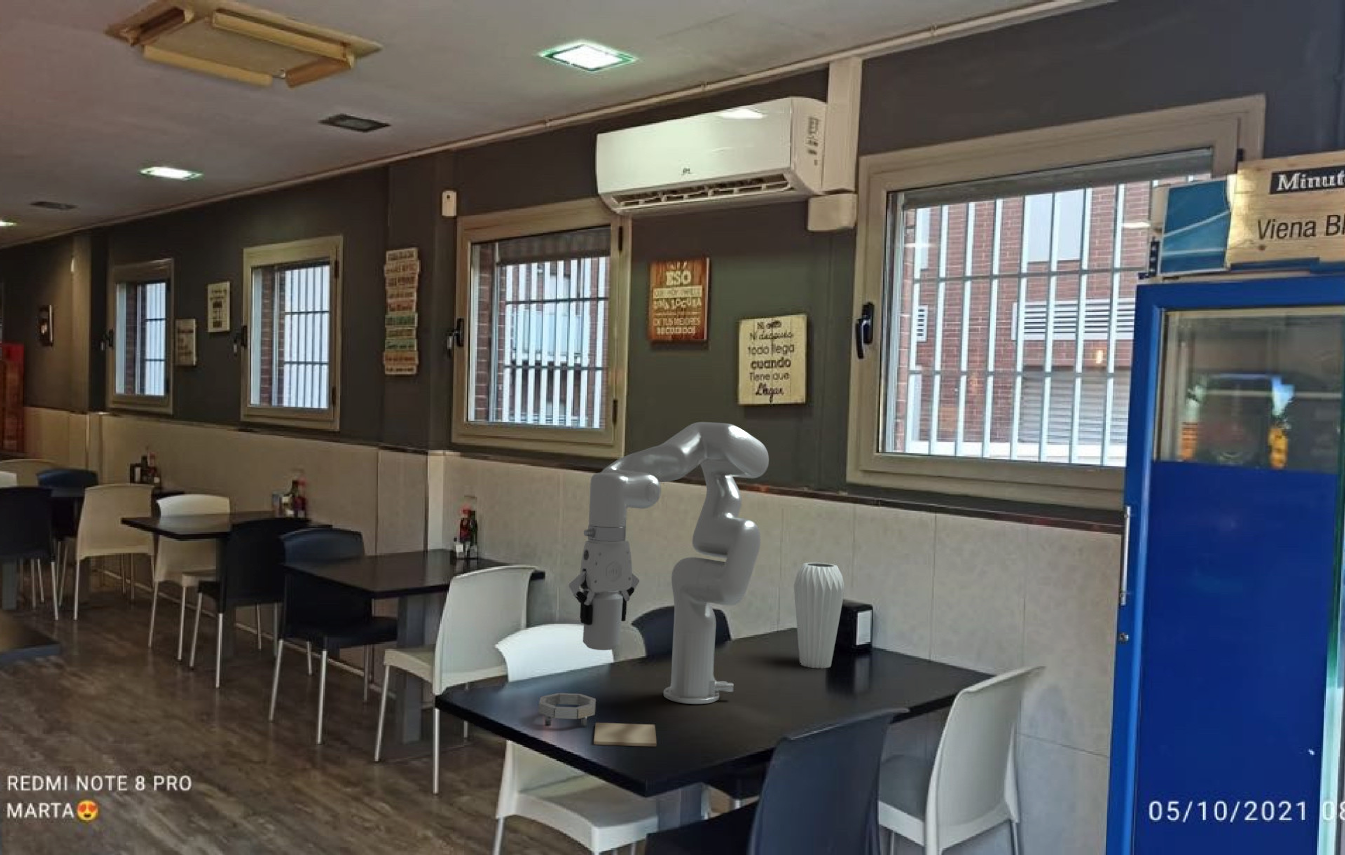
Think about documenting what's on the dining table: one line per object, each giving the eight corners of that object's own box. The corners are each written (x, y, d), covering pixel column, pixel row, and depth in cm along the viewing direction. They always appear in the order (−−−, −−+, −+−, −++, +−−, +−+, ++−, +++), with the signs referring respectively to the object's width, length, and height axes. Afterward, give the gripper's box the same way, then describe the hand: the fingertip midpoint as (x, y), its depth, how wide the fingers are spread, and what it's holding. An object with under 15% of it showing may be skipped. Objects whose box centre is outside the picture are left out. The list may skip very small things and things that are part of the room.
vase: (805, 656, 285) (810, 559, 284) (849, 665, 277) (854, 565, 277) (780, 664, 274) (785, 564, 274) (826, 673, 266) (831, 570, 266)
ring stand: (595, 713, 222) (596, 694, 222) (593, 729, 210) (594, 709, 210) (541, 711, 221) (542, 692, 221) (536, 727, 210) (537, 707, 210)
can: (590, 652, 206) (594, 591, 206) (577, 642, 213) (580, 584, 213) (625, 650, 209) (629, 590, 209) (611, 641, 216) (615, 583, 216)
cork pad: (654, 727, 213) (654, 724, 213) (656, 746, 201) (656, 743, 201) (595, 725, 213) (595, 722, 213) (593, 744, 201) (593, 741, 201)
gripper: (580, 538, 202) (577, 629, 203) (652, 535, 213) (648, 621, 213) (560, 533, 208) (556, 622, 208) (631, 530, 219) (627, 614, 219)
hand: (603, 621), depth 211 cm, fingers closed on can, 7 cm apart
